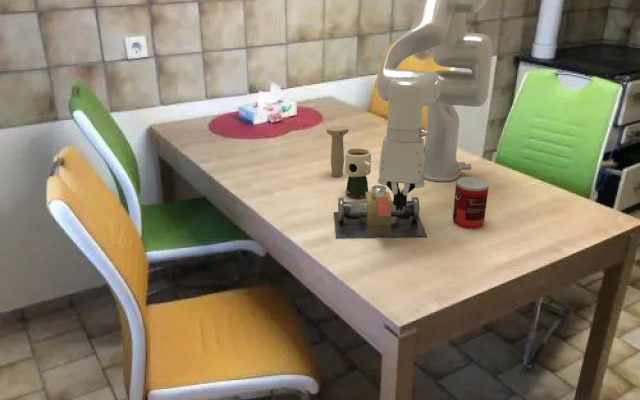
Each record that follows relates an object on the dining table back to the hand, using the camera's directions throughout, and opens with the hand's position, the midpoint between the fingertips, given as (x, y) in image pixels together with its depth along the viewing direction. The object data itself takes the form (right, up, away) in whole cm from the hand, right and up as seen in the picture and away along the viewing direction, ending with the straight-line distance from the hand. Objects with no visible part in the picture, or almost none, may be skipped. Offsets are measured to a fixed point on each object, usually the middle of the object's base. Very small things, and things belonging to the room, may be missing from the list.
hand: (399, 208), depth 139 cm
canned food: (+19, -4, +11) cm, 22 cm away
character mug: (-8, +3, +27) cm, 29 cm away
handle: (-14, +9, +41) cm, 44 cm away
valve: (-4, -4, +10) cm, 12 cm away
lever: (-4, +1, +4) cm, 6 cm away
